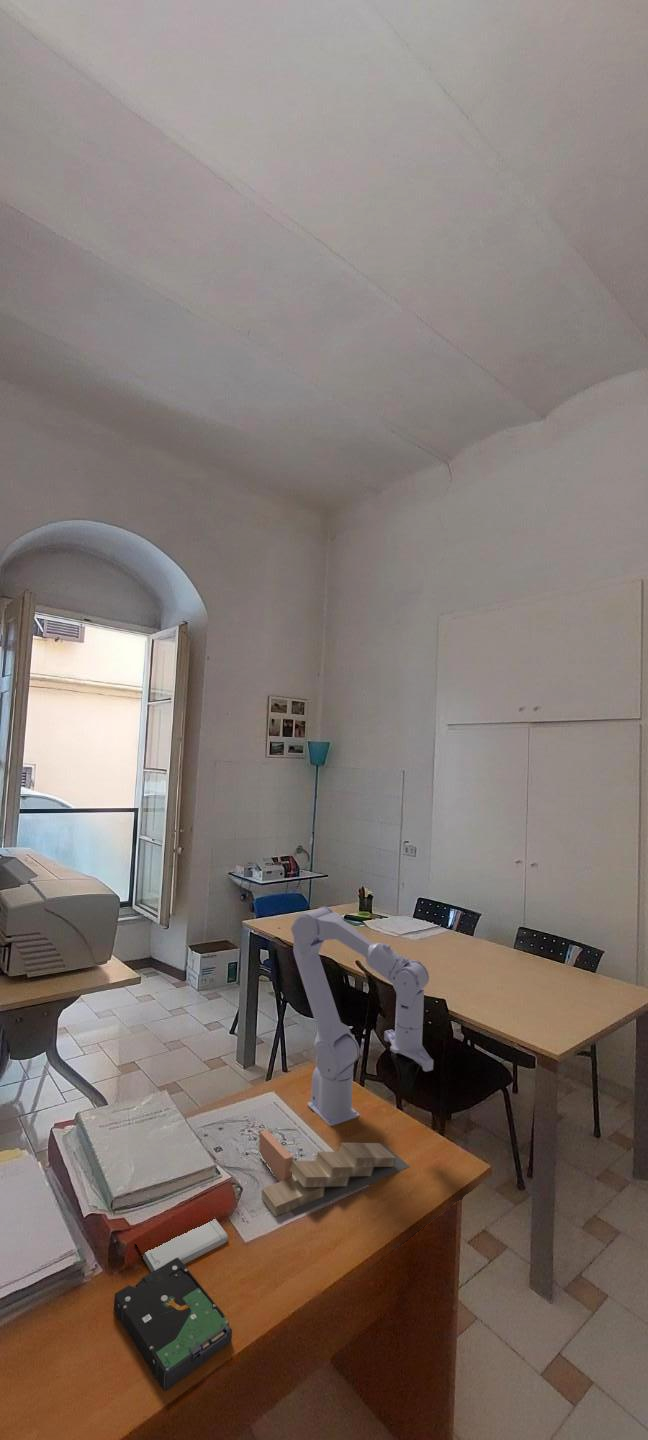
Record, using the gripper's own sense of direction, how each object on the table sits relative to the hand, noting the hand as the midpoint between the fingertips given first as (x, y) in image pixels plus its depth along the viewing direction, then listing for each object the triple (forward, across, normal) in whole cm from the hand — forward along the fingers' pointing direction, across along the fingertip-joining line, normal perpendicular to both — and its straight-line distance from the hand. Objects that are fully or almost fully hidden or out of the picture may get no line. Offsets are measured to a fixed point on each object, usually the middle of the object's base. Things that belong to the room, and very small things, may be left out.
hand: (405, 1090), depth 129 cm
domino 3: (+9, +5, -18) cm, 21 cm away
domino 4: (+9, +4, -12) cm, 16 cm away
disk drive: (+11, +20, -54) cm, 58 cm away
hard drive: (+11, +7, -49) cm, 50 cm away
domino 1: (+7, +3, -28) cm, 29 cm away
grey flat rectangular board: (+10, +4, -17) cm, 21 cm away
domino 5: (+9, +4, -7) cm, 12 cm away
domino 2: (+9, +5, -23) cm, 25 cm away
